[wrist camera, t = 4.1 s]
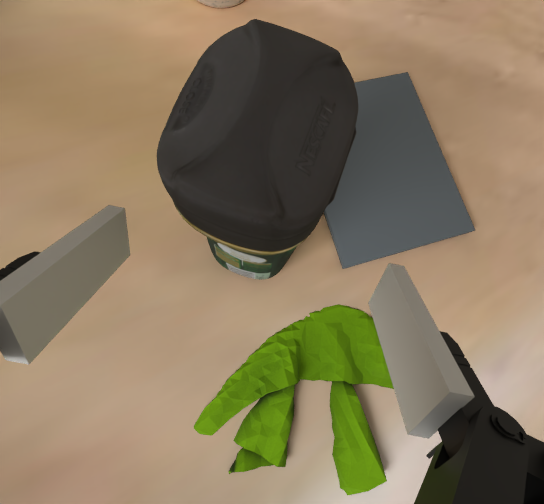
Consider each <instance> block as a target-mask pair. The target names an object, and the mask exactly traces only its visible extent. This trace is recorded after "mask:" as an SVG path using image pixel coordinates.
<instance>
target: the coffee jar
mask: <svg viewBox="0 0 544 504" xmlns="http://www.w3.org/2000/svg"><path fill="white" fill-rule="evenodd" d="M357 116H358V96H357V91H356V87H355V84H354V81H353V79H352V76H351V74H350V72H349V70H348V68H347V67H346V65H345V63H344V62H343V60H342V58H341V55H340V53H339V52H338V51H337V50H336V49H334V48H332V47H330V46H328V45H326V44H324V43H322V42H320V41H317V40H315V39H313V38H311V37H308V36H306V35H303V34H301V33H298V32H295V31H292V30H289V29H287V28H284V27H281V26H278V25H275V24H272V23H268V22H264V21H261V20H257V19H254V20H251V21H249V22H248V23H247V24H246V25H244V26H241V27H238V28H236V29H234V30H232V31H230V32H228V33H227V34H225V35H223V36H222V37H220V38H219V39H218V40H216V41H215V42H214V43H213V44H212V45H211V46H209V48H208V49H207V50H206V51H205V52H204V54H203V55H202V56H201V58H200V59H199V60H198V62H197V65H196V66H195V68H194V70H193V71H192V73H191V75H190V76H189V78H188V80H187V82H186V83H185V85H184V87H183V88H182V91H181V92H180V94H179V96H178V99H177V101H176V103H175V105H174V107H173V109H172V112H171V114H170V116H169V118H168V121H167V123H166V126H165V128H164V130H163V132H162V135H161V138H160V141H159V145H158V149H157V165H158V170H159V173H160V177H161V179H162V182H163V184H164V186H165V188H166V190H167V192H168V193H169V195H170V196H171V198H172V200H173V202H174V204H175V207H176V209H177V210H178V212H179V213H180V215H181V216H182V217H183V219H184V220H185V221H186V222H187V223H188V224H189V225H191V226H192V227H193V228H194V229H196V230H197V231H199V232H200V233H202V234H203V235H205V236H207V239H208V243H209V245H210V248H211V251H212V253H213V255H214V257H215V258H216V260H217V261H218V262H219V263H220V264H221V265H222V266H223V267H225V268H227V269H228V270H230V271H232V272H234V273H237V274H239V275H242V276H245V277H249V278H253V279H268V278H271V277H273V276H274V275H276V274H277V273H278V272H279V271H280V270H281V269H282V268H283V266H284V265H285V264H286V262H287V260H288V259H289V257H290V256H291V254H292V253H293V251H294V250H295V248H296V247H297V246H298V245H299V244H300V243H302V242H303V241H304V240H305V239H306V238H307V237H308V236H309V235H310V234H311V232H312V231H313V230H314V228H315V227H316V225H317V223H318V222H319V219H320V218H321V216H322V214H323V212H324V211H325V209H326V207H327V206H328V205H329V204H330V203H331V202H332V201H333V200H334V197H335V194H336V191H337V188H338V185H339V182H340V179H341V176H342V173H343V170H344V167H345V164H346V161H347V158H348V155H349V152H350V150H351V147H352V144H353V141H354V139H355V136H356V127H355V126H356V121H357Z"/></svg>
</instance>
